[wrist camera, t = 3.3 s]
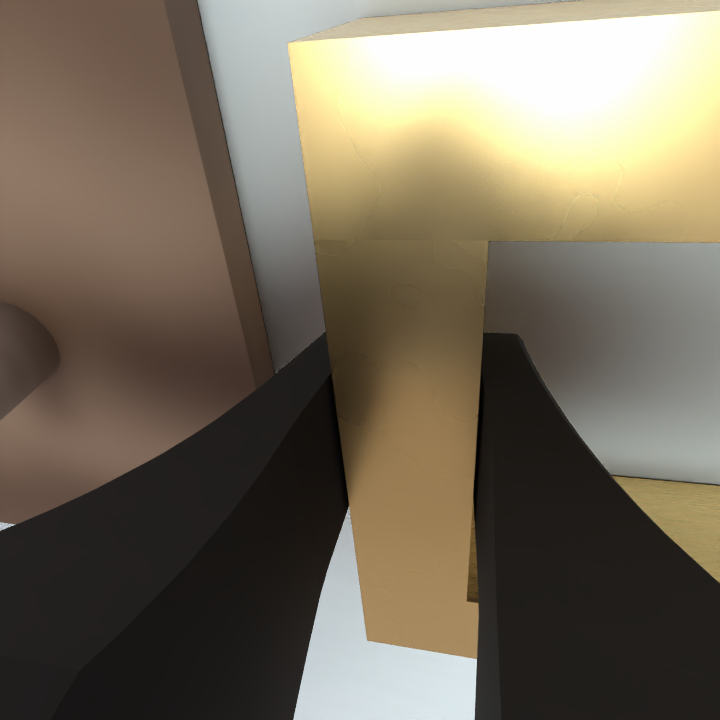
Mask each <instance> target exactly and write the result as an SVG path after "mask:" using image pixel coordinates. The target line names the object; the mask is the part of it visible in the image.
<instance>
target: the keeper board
mask: <svg viewBox="0 0 720 720" xmlns="http://www.w3.org/2000/svg"><path fill="white" fill-rule="evenodd" d="M274 375H275V373H274V368H273V364H272V359H271V354H270V349H269V344H268V340H267V335H266V330H265V325H264V321H263V316H262V311H261V306H260V302H259V297H258V292H257V287H256V282H255V278H254V273H253V268H252V263H251V259H250V254H249V249H248V244H247V240H246V235H245V230H244V225H243V221H242V216H241V211H240V206H239V201H238V197H237V192H236V187H235V182H234V178H233V173H232V168H231V163H230V159H229V154H228V149H227V144H226V139H225V135H224V130H223V125H222V120H221V116H220V111H219V106H218V101H217V97H216V92H215V87H214V82H213V77H212V73H211V68H210V63H209V58H208V54H207V49H206V44H205V39H204V35H203V30H202V25H201V20H200V15H199V11H198V6H197V1H196V0H0V522H3V523H10V524H19V523H21V522H23V521H26V520H28V519H30V518H33V517H35V516H37V515H40V514H42V513H44V512H47V511H49V510H51V509H53V508H56V507H58V506H60V505H62V504H64V503H67V502H69V501H71V500H73V499H75V498H77V497H80V496H82V495H84V494H86V493H88V492H90V491H92V490H94V489H96V488H98V487H100V486H102V485H104V484H106V483H108V482H110V481H112V480H113V479H115V478H117V477H119V476H121V475H123V474H125V473H127V472H129V471H131V470H132V469H134V468H136V467H138V466H140V465H142V464H144V463H146V462H148V461H150V460H151V459H153V458H155V457H157V456H159V455H160V454H162V453H164V452H165V451H167V450H169V449H170V448H172V447H174V446H175V445H177V444H179V443H180V442H182V441H183V440H185V439H187V438H188V437H190V436H192V435H193V434H195V433H196V432H198V431H199V430H201V429H202V428H204V427H205V426H207V425H209V424H210V423H211V422H213V421H214V420H216V419H217V418H219V417H220V416H222V415H223V414H224V413H226V412H227V411H228V410H230V409H231V408H232V407H234V406H235V405H236V404H238V403H239V402H240V401H242V400H243V399H244V398H246V397H247V396H248V395H250V394H251V393H252V392H254V391H255V390H256V389H258V388H259V387H260V386H262V385H263V384H264V383H265V382H267V381H268V380H269V379H270V378H272V377H273V376H274Z"/></svg>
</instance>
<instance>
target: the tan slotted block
mask: <svg viewBox="0 0 720 720" xmlns="http://www.w3.org/2000/svg"><path fill="white" fill-rule="evenodd" d="M288 50H289V58H290V65H291V73H292V80H293V88H294V95H295V103H296V110H297V118H298V125H299V133H300V140H301V148H302V155H303V163H304V170H305V178H306V185H307V193H308V200H309V208H310V215H311V223H312V230H313V237H314V245H315V252H316V260H317V267H318V275H319V282H320V290H321V297H322V305H323V312H324V320H325V327H326V335H327V342H328V350H329V357H330V365H331V372H332V380H333V387H334V395H335V402H336V410H337V417H338V425H339V432H340V440H341V447H342V455H343V462H344V470H345V477H346V485H347V492H348V500H349V507H350V515H351V522H352V530H353V537H354V545H355V552H356V560H357V567H358V575H359V582H360V590H361V597H362V605H363V612H364V620H365V627H366V635H367V641H373V642H379V643H385V644H391V645H397V646H403V647H409V648H415V649H421V650H427V651H433V652H439V653H445V654H451V655H457V656H463V657H469V658H475V659H477V647H478V619H479V610H478V576H477V558H476V540H475V522H474V503H473V488H474V472H475V456H476V440H477V424H478V408H479V392H480V376H481V360H482V344H483V328H484V312H485V295H486V279H487V263H488V247H489V241H565V242H701V243H720V0H579V1H567V2H554V3H542V4H530V5H518V6H505V7H493V8H481V9H468V10H456V11H444V12H432V13H419V14H407V15H395V16H382V17H370V18H360V19H357V20H354V21H351V22H348V23H345V24H342V25H339V26H336V27H333V28H330V29H327V30H324V31H321V32H318V33H315V34H312V35H310V36H307V37H304V38H301V39H298V40H295V41H292V42H289V43H288ZM612 477H613V478H614V479H615V481H616V482H617V483H618V484H619V485H620V486H621V487H622V488H623V489H624V490H625V492H626V493H627V494H628V495H629V496H630V497H631V498H632V499H633V500H634V501H635V503H636V504H637V505H638V506H639V507H640V508H641V509H642V510H643V511H644V512H645V513H646V514H647V515H648V516H649V517H650V518H651V519H652V520H653V521H654V522H655V523H656V524H657V525H658V526H659V527H660V528H661V529H662V530H663V531H664V532H665V533H666V534H667V535H668V536H669V537H670V538H671V539H672V540H673V541H674V542H675V543H676V544H678V545H679V546H680V547H681V548H682V549H683V550H684V551H685V552H686V553H687V554H688V555H690V556H691V557H692V558H693V559H694V560H695V561H696V562H697V563H698V564H699V565H700V566H702V567H703V568H704V569H705V570H706V571H707V572H708V573H709V574H710V575H711V576H712V577H714V578H715V579H716V580H717V581H718V582H719V583H720V486H714V485H703V484H692V483H682V482H671V481H660V480H649V479H638V478H627V477H617V476H612Z"/></svg>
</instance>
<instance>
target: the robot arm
mask: <svg viewBox="0 0 720 720" xmlns="http://www.w3.org/2000/svg"><path fill="white" fill-rule="evenodd" d="M473 503H474V522H475V540H476V558H477V576H478V610H479V619H478V647H477V675H476V702H475V720H720V583H719V582H718V581H717V580H716V579H715V578H714V577H712V576H711V575H710V574H709V573H708V572H707V571H706V570H705V569H704V568H703V567H702V566H700V565H699V564H698V563H697V562H696V561H695V560H694V559H693V558H692V557H691V556H690V555H688V554H687V553H686V552H685V551H684V550H683V549H682V548H681V547H680V546H679V545H678V544H676V543H675V542H674V541H673V540H672V539H671V538H670V537H669V536H668V535H667V534H666V533H665V532H664V531H663V530H662V529H661V528H660V527H659V526H658V525H657V524H656V523H655V522H654V521H653V520H652V519H651V518H650V517H649V516H648V515H647V514H646V513H645V512H644V511H643V510H642V509H641V508H640V507H639V506H638V505H637V504H636V503H635V501H634V500H633V499H632V498H631V497H630V496H629V495H628V494H627V493H626V492H625V490H624V489H623V488H622V487H621V486H620V485H619V484H618V483H617V482H616V481H615V479H614V478H613V477H612V476H611V475H610V474H609V472H608V471H607V470H606V469H605V468H604V466H603V465H602V464H601V463H600V461H599V460H598V459H597V458H596V457H595V455H594V454H593V453H592V451H591V450H590V449H589V448H588V446H587V445H586V444H585V442H584V441H583V440H582V438H581V437H580V436H579V434H578V433H577V432H576V430H575V429H574V428H573V426H572V425H571V423H570V422H569V421H568V419H567V418H566V416H565V415H564V413H563V412H562V410H561V409H560V407H559V406H558V404H557V403H556V401H555V400H554V398H553V396H552V395H551V393H550V392H549V390H548V389H547V387H546V385H545V384H544V382H543V380H542V379H541V377H540V375H539V373H538V371H537V370H536V368H535V366H534V364H533V362H532V360H531V358H530V356H529V354H528V352H527V350H526V348H525V345H524V343H523V340H522V339H521V338H520V337H519V336H518V335H517V334H504V333H483V344H482V360H481V376H480V392H479V408H478V424H477V440H476V456H475V472H474V488H473ZM348 507H349V500H348V492H347V485H346V477H345V470H344V462H343V455H342V447H341V440H340V432H339V425H338V417H337V410H336V402H335V395H334V387H333V380H332V372H331V365H330V357H329V350H328V342H327V335H326V332H325V333H323V334H322V335H321V336H320V337H319V338H318V339H316V340H315V341H314V342H313V343H312V344H311V345H309V346H308V347H307V348H306V349H305V350H304V351H302V352H301V353H300V354H299V355H298V356H297V357H296V358H294V359H293V360H292V361H291V362H290V363H288V364H287V365H286V366H285V367H284V368H282V369H281V370H280V371H279V372H278V373H276V374H275V375H274V376H273V377H272V378H270V379H269V380H268V381H267V382H265V383H264V384H263V385H262V386H260V387H259V388H258V389H256V390H255V391H254V392H252V393H251V394H250V395H248V396H247V397H246V398H244V399H243V400H242V401H240V402H239V403H238V404H236V405H235V406H234V407H232V408H231V409H230V410H228V411H227V412H226V413H224V414H223V415H222V416H220V417H219V418H217V419H216V420H214V421H213V422H211V423H210V424H209V425H207V426H205V427H204V428H202V429H201V430H199V431H198V432H196V433H195V434H193V435H192V436H190V437H188V438H187V439H185V440H183V441H182V442H180V443H179V444H177V445H175V446H174V447H172V448H170V449H169V450H167V451H165V452H164V453H162V454H160V455H159V456H157V457H155V458H153V459H151V460H150V461H148V462H146V463H144V464H142V465H140V466H138V467H136V468H134V469H132V470H131V471H129V472H127V473H125V474H123V475H121V476H119V477H117V478H115V479H113V480H112V481H110V482H108V483H106V484H104V485H102V486H100V487H98V488H96V489H94V490H92V491H90V492H88V493H86V494H84V495H82V496H80V497H77V498H75V499H73V500H71V501H69V502H67V503H64V504H62V505H60V506H58V507H56V508H53V509H51V510H49V511H47V512H44V513H42V514H40V515H37V516H35V517H33V518H30V519H28V520H26V521H23V522H21V523H19V524H16V525H14V526H11V527H9V528H6V529H4V530H2V531H0V720H293V718H294V713H295V708H296V703H297V698H298V694H299V689H300V684H301V680H302V675H303V670H304V665H305V661H306V656H307V651H308V647H309V642H310V638H311V634H312V629H313V625H314V620H315V616H316V612H317V607H318V603H319V598H320V594H321V590H322V587H323V583H324V580H325V576H326V573H327V570H328V566H329V563H330V560H331V557H332V554H333V551H334V548H335V545H336V543H337V540H338V537H339V534H340V531H341V528H342V525H343V522H344V519H345V516H346V513H347V510H348Z"/></svg>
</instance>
